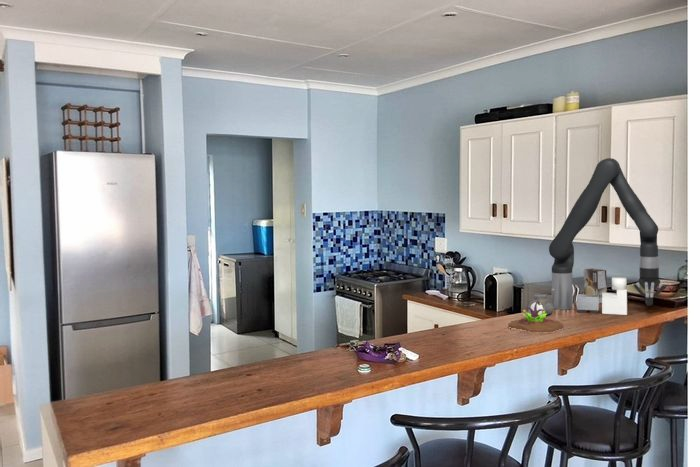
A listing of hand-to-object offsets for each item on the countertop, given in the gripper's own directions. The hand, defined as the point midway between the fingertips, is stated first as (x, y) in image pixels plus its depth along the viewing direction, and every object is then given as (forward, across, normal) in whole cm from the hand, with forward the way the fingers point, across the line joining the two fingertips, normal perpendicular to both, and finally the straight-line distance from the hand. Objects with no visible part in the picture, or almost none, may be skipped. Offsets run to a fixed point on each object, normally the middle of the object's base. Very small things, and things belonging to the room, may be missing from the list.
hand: (649, 305), depth 252 cm
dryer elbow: (+4, -14, 0) cm, 14 cm away
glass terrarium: (+4, -44, -14) cm, 46 cm away
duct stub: (+4, -25, 0) cm, 25 cm away
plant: (+5, -44, -37) cm, 57 cm away
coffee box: (+4, -22, +26) cm, 35 cm away
